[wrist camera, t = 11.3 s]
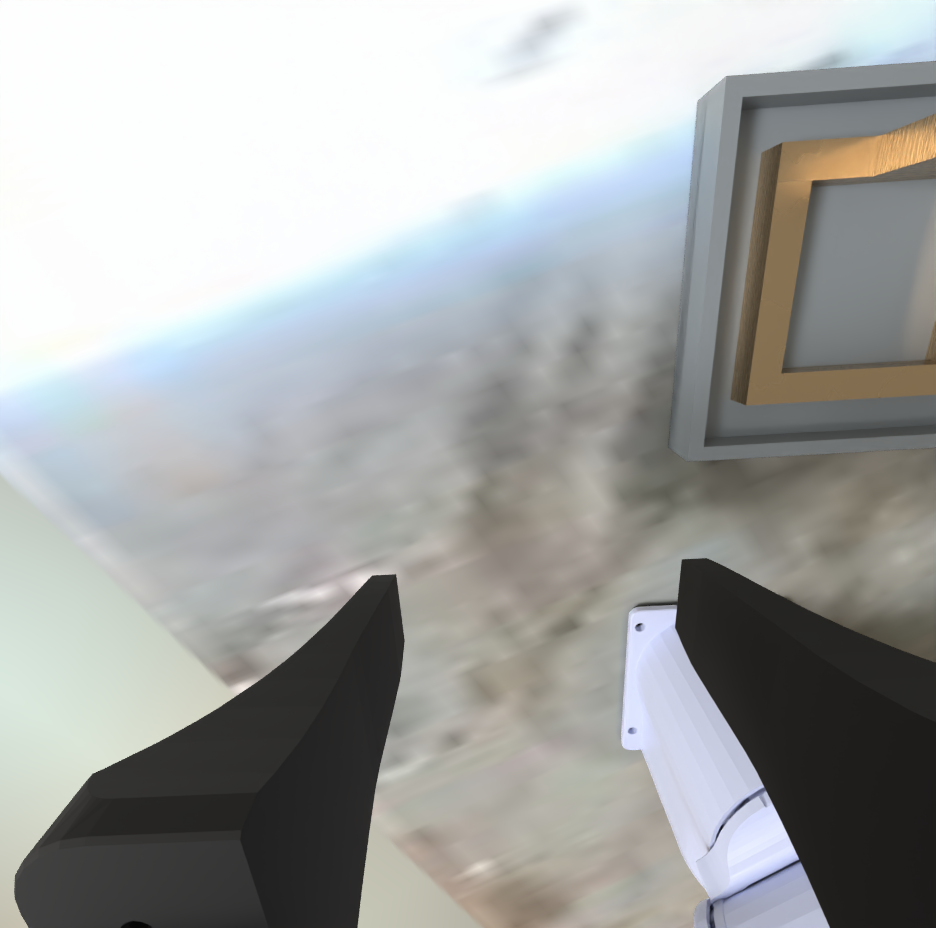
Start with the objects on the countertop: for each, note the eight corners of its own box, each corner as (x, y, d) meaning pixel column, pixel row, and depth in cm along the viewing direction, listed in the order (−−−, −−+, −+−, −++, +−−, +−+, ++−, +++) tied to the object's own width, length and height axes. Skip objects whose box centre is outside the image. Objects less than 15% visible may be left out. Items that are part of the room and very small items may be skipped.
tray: (962, 430, 21) (1011, 443, 19) (668, 447, 21) (687, 461, 19) (1069, 74, 17) (1145, 45, 15) (697, 100, 17) (726, 75, 15)
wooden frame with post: (946, 387, 20) (1105, 415, 15) (730, 399, 20) (816, 431, 15) (1016, 135, 17) (1245, 66, 12) (761, 152, 17) (881, 92, 12)
